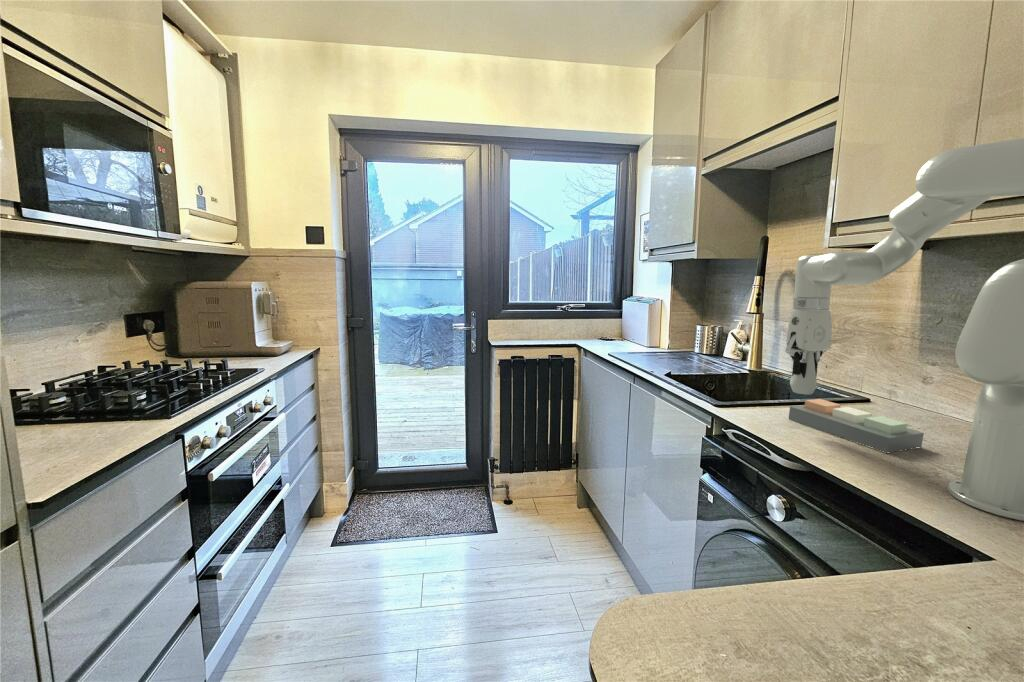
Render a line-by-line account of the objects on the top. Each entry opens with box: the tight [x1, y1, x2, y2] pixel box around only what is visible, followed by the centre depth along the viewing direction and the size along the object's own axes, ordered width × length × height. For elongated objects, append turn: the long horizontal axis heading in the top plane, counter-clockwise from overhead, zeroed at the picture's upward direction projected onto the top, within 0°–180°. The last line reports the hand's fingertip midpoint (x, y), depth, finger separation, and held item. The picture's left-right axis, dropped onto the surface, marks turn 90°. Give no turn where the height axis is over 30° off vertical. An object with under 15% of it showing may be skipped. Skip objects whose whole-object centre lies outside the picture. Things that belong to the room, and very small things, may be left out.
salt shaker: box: [789, 348, 818, 396], centre depth 109 cm, size 6×6×13 cm
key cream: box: [832, 406, 873, 424], centre depth 109 cm, size 6×6×4 cm
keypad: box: [788, 404, 925, 454], centre depth 109 cm, size 24×12×4 cm, turn 18°
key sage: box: [864, 415, 908, 435], centre depth 101 cm, size 6×6×4 cm
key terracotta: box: [804, 398, 842, 414], centre depth 116 cm, size 6×6×4 cm
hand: (804, 376), depth 109 cm, fingers closed on salt shaker, 3 cm apart
